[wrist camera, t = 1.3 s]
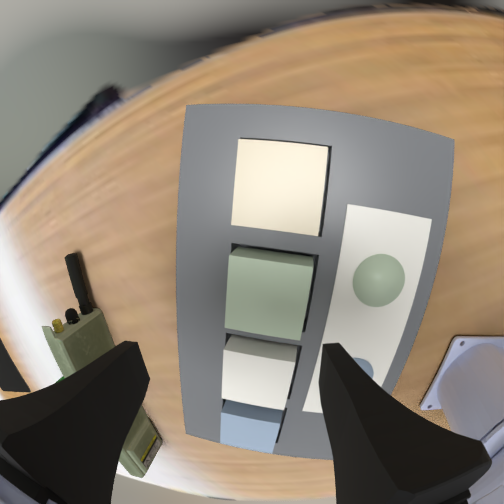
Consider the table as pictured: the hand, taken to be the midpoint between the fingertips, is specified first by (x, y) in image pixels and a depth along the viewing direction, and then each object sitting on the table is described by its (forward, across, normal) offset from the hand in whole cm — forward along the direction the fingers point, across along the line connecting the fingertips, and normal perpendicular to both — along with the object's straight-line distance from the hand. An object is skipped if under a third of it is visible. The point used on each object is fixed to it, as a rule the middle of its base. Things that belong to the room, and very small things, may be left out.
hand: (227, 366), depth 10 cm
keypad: (+9, -4, +3) cm, 10 cm away
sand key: (+8, -3, -6) cm, 10 cm away
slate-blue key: (+7, 0, +12) cm, 14 cm away
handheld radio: (+11, +14, +11) cm, 21 cm away
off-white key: (+7, -1, +6) cm, 9 cm away
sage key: (+7, -2, 0) cm, 8 cm away
